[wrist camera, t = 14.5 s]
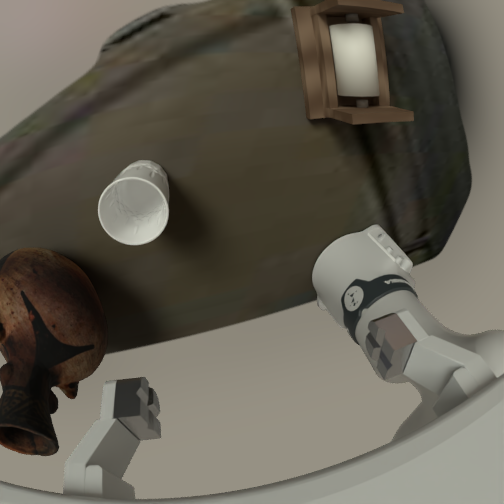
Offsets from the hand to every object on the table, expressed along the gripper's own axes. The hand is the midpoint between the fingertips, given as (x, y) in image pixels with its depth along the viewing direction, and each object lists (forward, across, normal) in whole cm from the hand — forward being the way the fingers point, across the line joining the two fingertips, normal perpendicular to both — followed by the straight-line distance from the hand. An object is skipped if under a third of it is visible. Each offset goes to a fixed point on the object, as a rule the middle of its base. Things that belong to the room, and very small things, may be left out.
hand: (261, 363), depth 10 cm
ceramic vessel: (+34, +27, +14) cm, 46 cm away
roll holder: (+34, -21, -10) cm, 41 cm away
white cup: (+34, +9, +3) cm, 35 cm away
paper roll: (+32, -21, -10) cm, 40 cm away
